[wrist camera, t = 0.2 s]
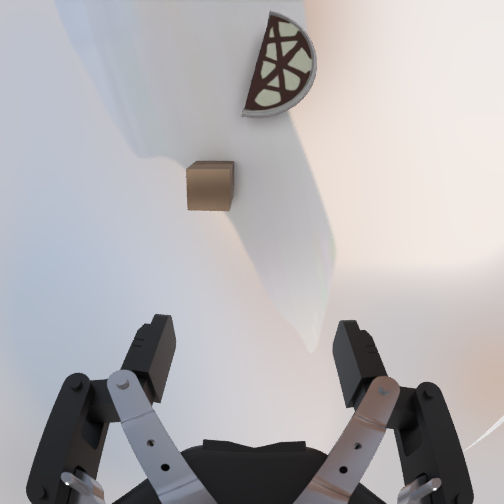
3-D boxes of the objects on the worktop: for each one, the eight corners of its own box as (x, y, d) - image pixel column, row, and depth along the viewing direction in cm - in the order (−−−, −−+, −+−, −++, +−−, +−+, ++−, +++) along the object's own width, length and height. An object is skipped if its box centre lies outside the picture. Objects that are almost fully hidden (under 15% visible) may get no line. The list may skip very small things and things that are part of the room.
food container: (290, 128, 34) (303, 132, 25) (244, 116, 33) (240, 116, 24) (313, 45, 28) (332, 23, 20) (267, 32, 28) (271, 6, 19)
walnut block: (196, 161, 36) (186, 169, 31) (233, 161, 36) (229, 169, 31) (197, 196, 38) (187, 210, 33) (233, 196, 38) (229, 211, 33)
